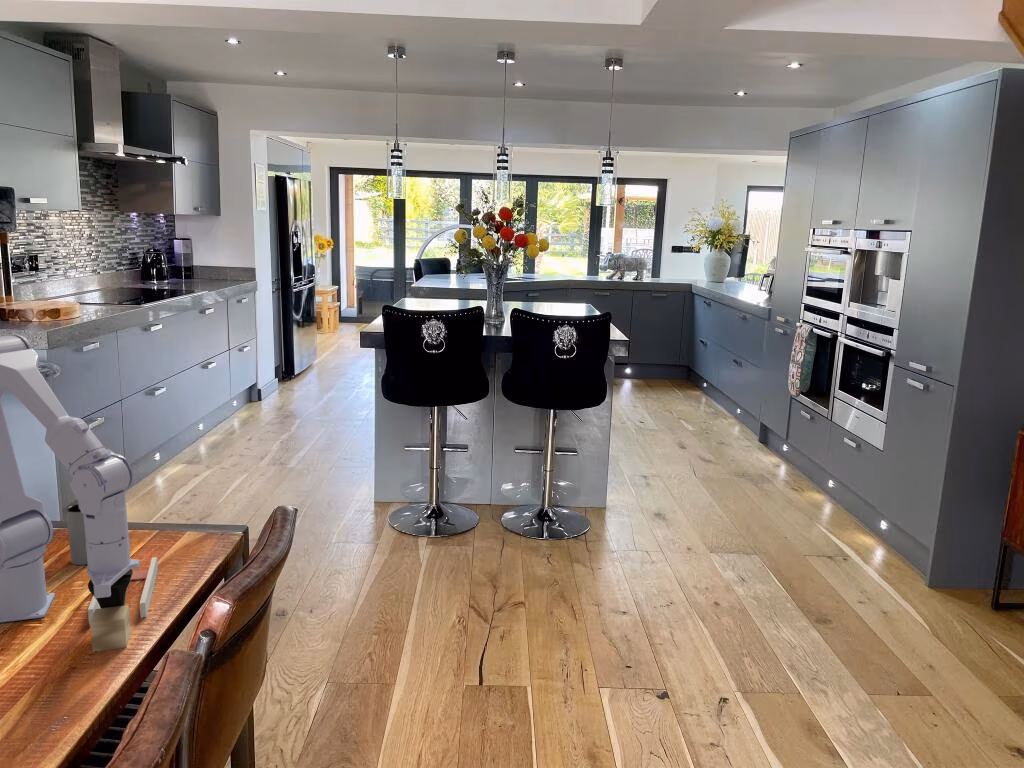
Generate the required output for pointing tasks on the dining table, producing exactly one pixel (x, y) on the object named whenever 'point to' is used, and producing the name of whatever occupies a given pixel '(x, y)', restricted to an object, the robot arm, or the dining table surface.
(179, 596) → the dining table surface
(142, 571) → the pad
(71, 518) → the grey hollow tube
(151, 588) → the channel
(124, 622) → the block
